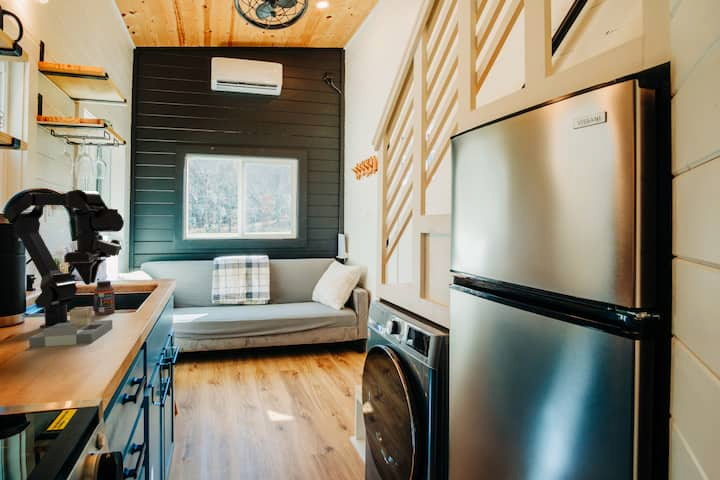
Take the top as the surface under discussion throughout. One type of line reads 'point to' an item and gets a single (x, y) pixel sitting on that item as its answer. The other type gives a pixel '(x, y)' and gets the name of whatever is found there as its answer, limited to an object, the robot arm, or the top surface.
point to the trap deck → (70, 334)
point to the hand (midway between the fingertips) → (90, 283)
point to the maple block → (81, 316)
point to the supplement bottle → (104, 298)
